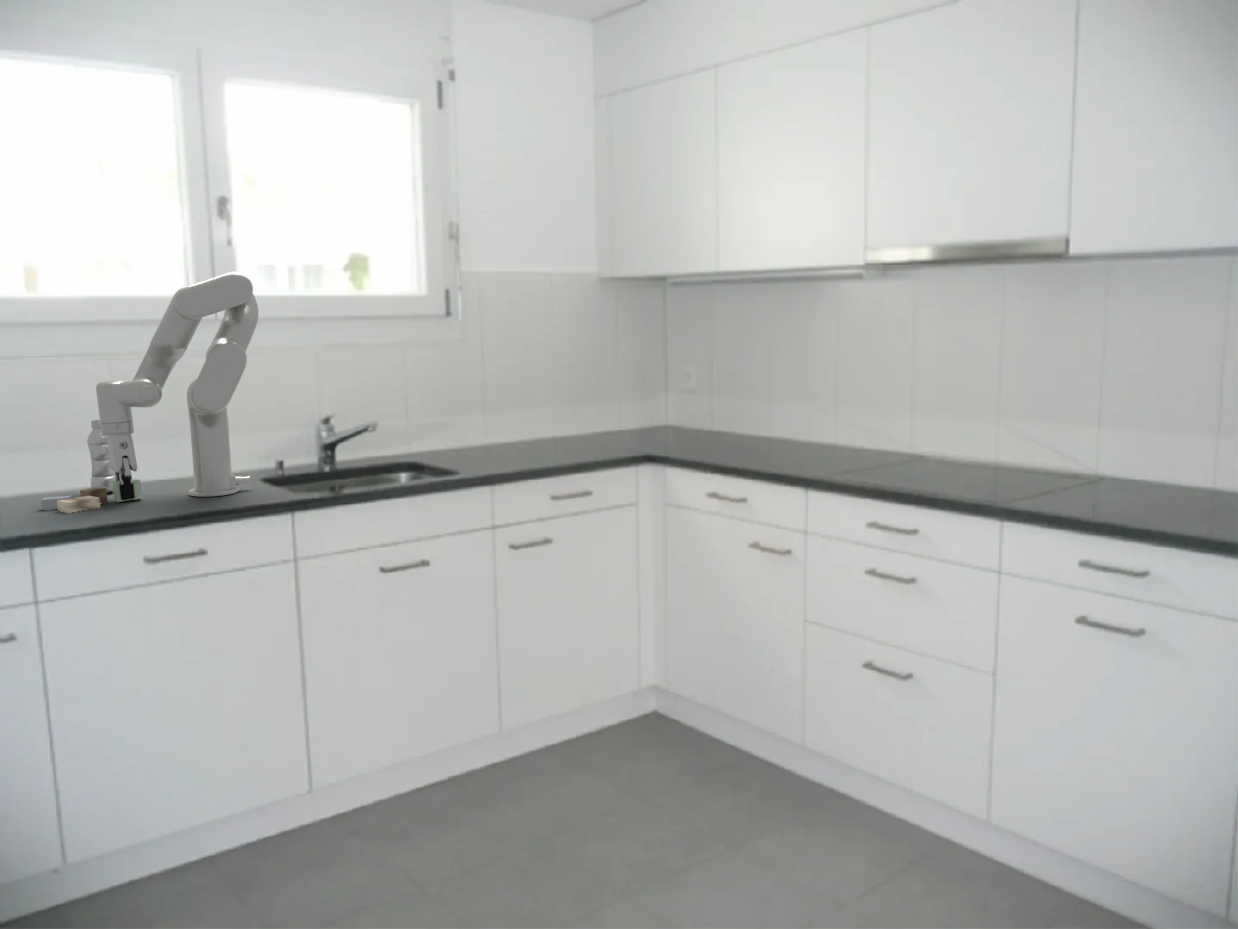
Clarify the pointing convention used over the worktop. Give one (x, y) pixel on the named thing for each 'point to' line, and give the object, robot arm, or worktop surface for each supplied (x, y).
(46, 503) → the slate brick
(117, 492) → the sage brick
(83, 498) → the birch brick
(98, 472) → the plastic bottle
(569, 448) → the worktop surface
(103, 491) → the walnut brick
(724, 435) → the worktop surface
